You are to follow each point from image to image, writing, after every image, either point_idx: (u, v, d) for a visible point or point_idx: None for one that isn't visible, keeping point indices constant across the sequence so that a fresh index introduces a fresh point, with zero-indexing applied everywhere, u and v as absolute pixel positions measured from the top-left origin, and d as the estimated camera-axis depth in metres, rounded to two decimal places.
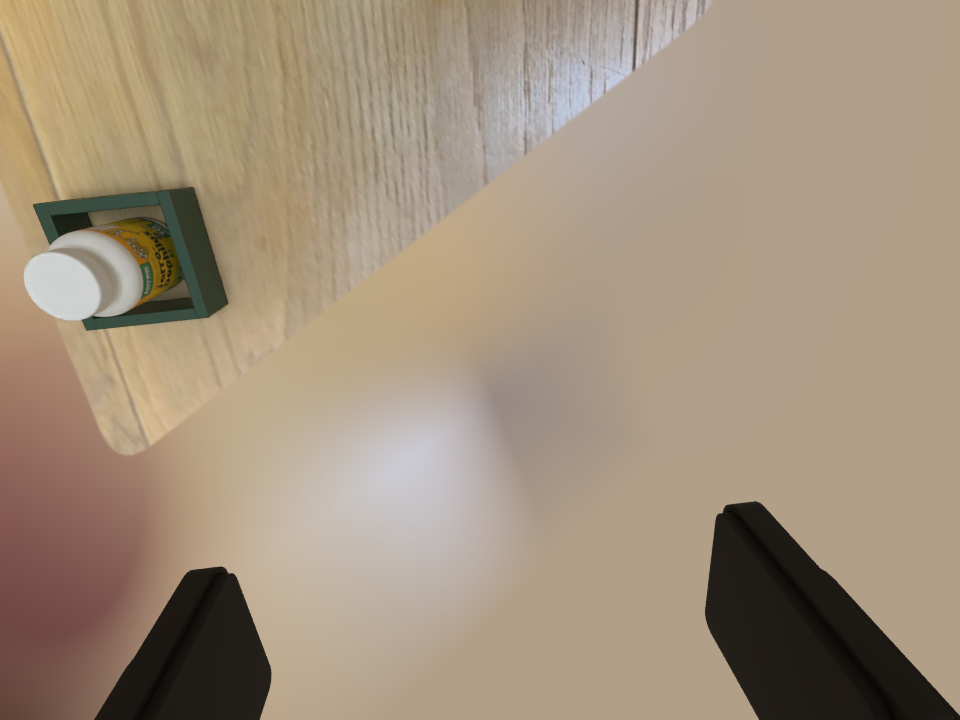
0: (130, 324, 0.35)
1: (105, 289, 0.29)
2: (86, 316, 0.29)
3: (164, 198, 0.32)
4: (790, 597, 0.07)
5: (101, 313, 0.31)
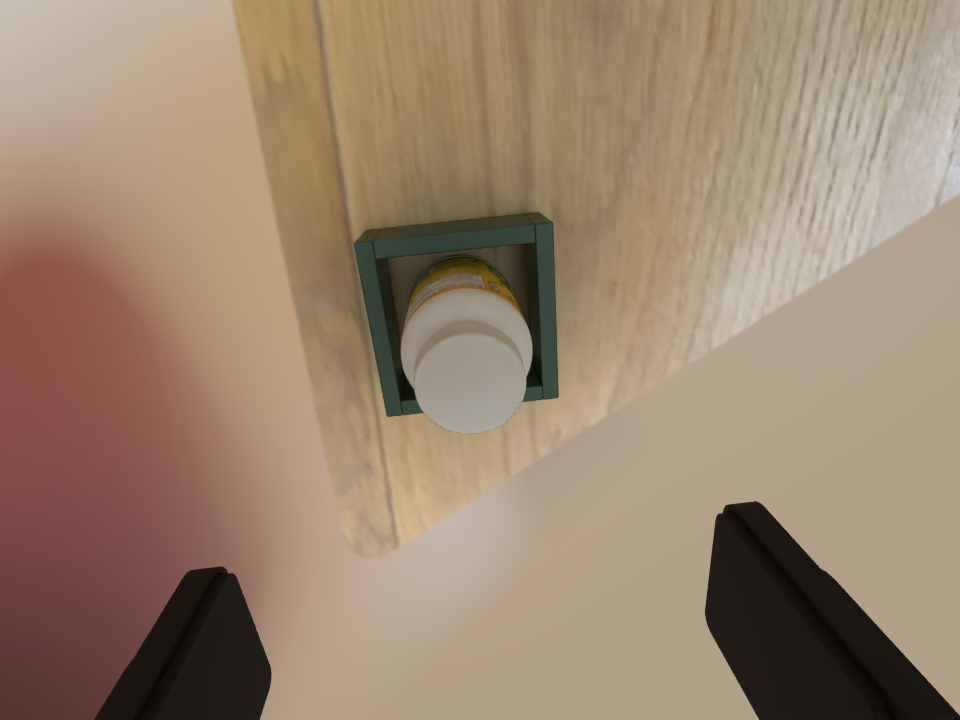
0: None
1: None
2: (492, 427, 0.18)
3: (544, 233, 0.22)
4: (790, 597, 0.07)
5: None
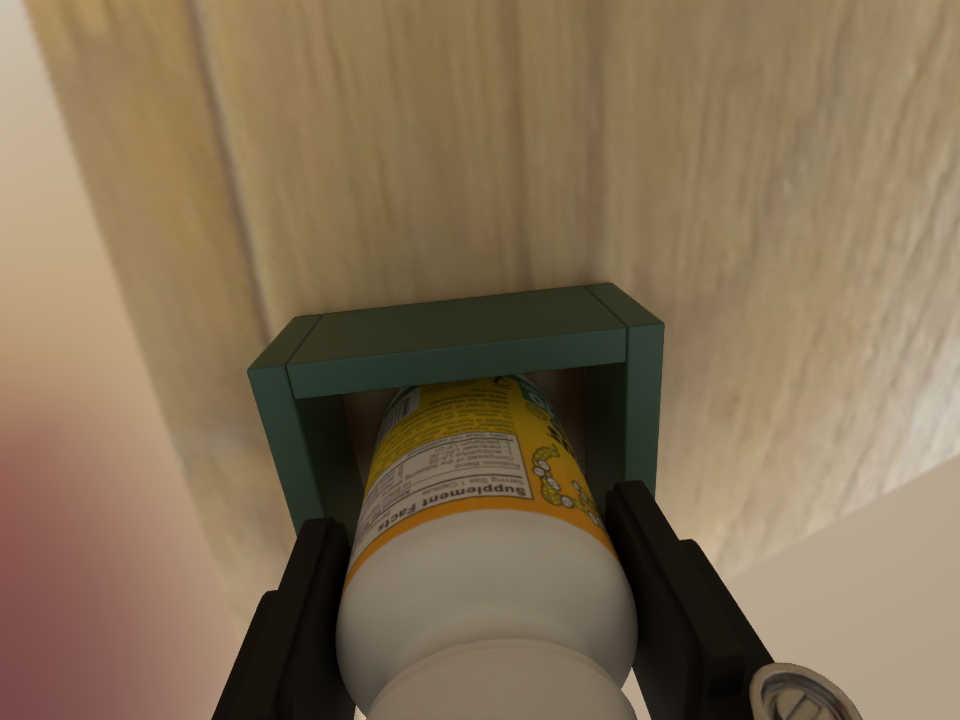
0: None
1: None
2: None
3: (645, 345, 0.10)
4: (645, 560, 0.08)
5: None
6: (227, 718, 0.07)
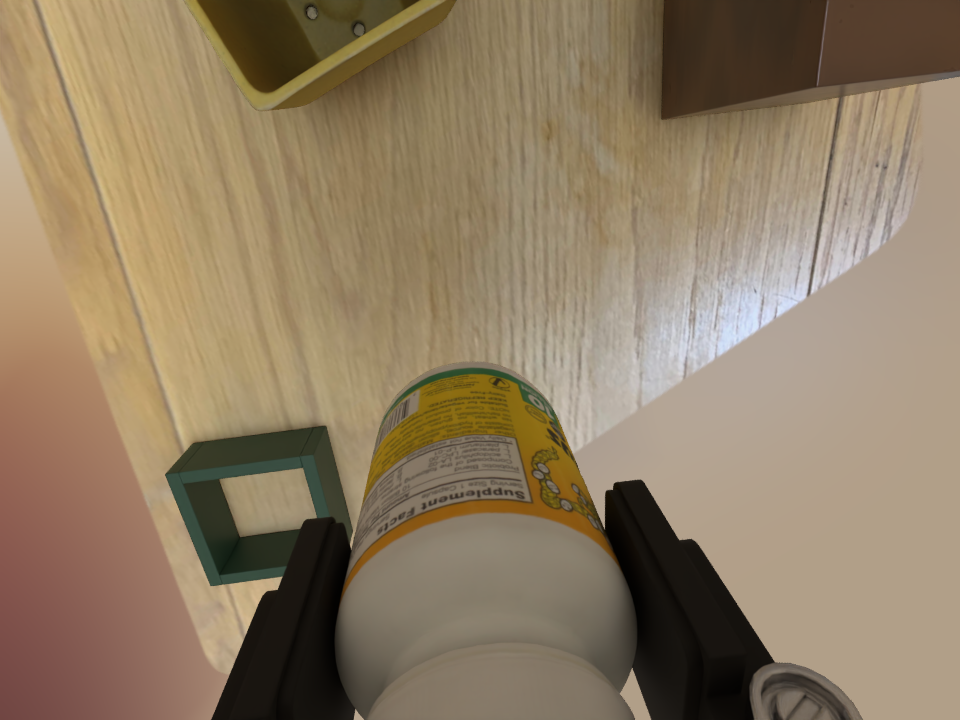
0: (259, 578, 0.32)
1: None
2: None
3: (308, 462, 0.29)
4: (645, 560, 0.08)
5: None
6: (227, 718, 0.07)
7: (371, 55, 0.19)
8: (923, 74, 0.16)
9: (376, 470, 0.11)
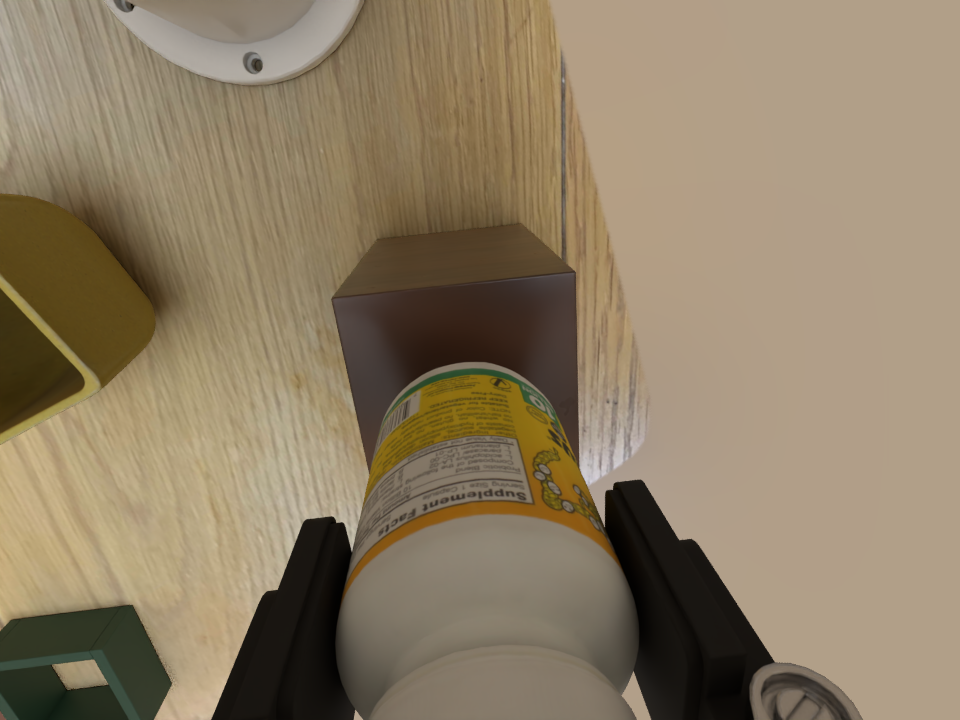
0: None
1: None
2: None
3: (97, 655, 0.33)
4: (645, 560, 0.08)
5: None
6: (227, 718, 0.07)
7: None
8: None
9: (377, 471, 0.11)
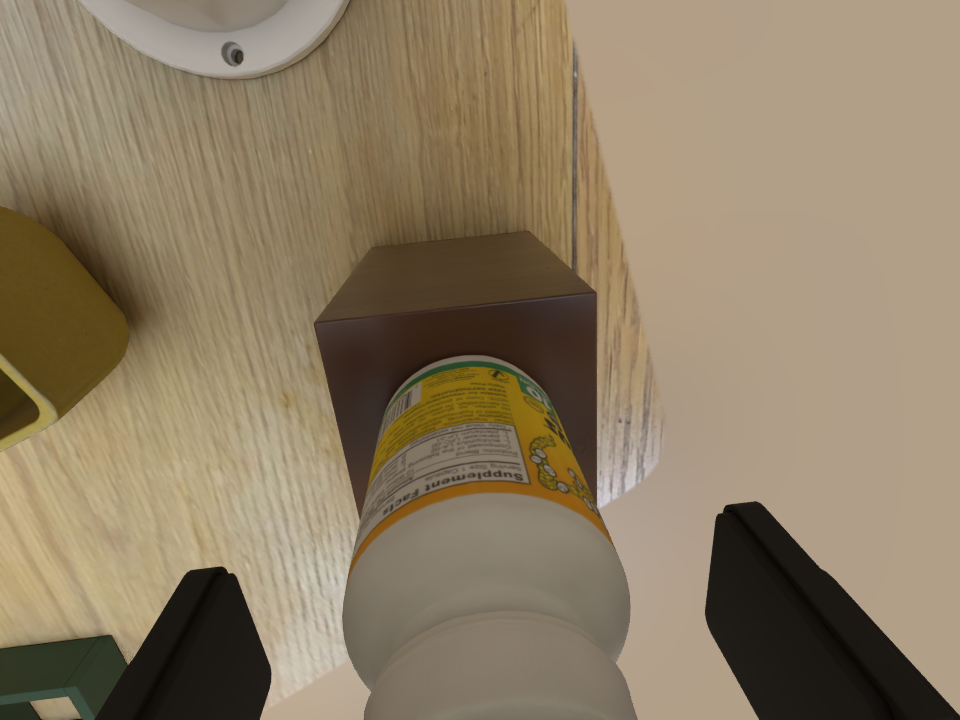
0: None
1: None
2: None
3: (72, 692, 0.30)
4: (790, 597, 0.07)
5: None
6: None
7: None
8: None
9: (380, 458, 0.11)
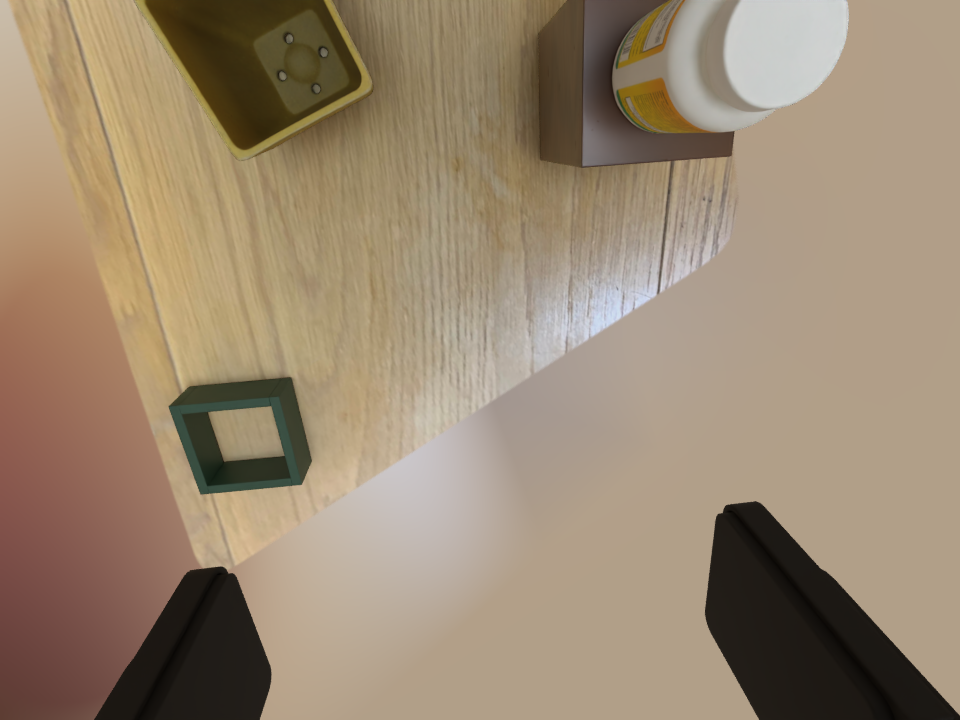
0: (237, 490, 0.42)
1: None
2: (795, 100, 0.16)
3: (275, 401, 0.39)
4: (790, 597, 0.07)
5: (739, 119, 0.18)
6: None
7: (315, 123, 0.29)
8: (648, 162, 0.26)
9: (653, 18, 0.20)
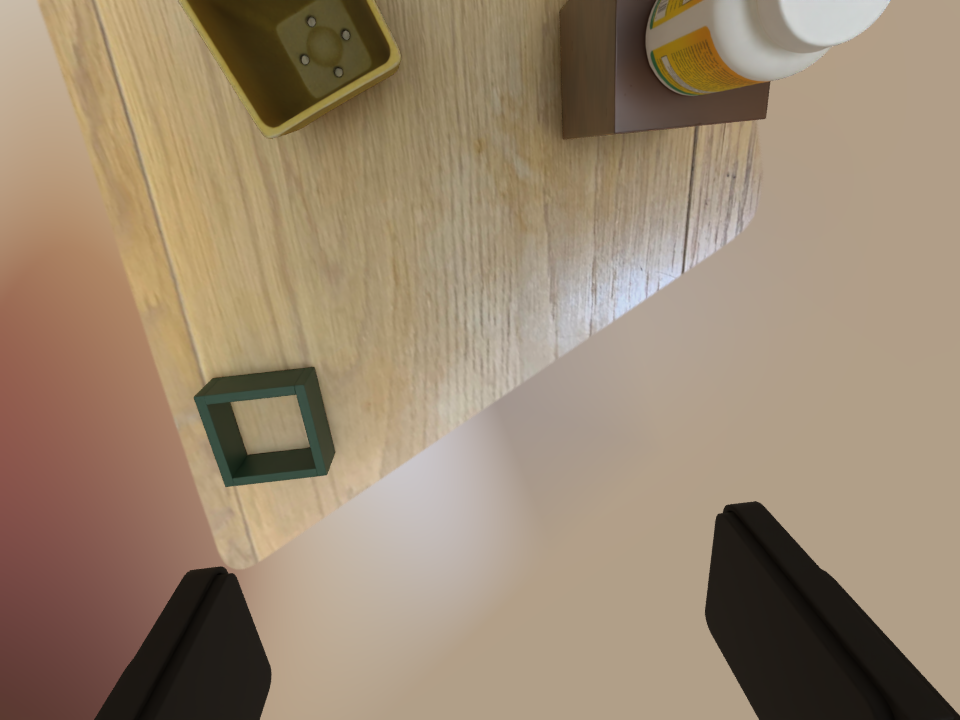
0: (262, 481, 0.42)
1: None
2: (851, 36, 0.16)
3: (300, 390, 0.39)
4: (790, 597, 0.07)
5: (787, 64, 0.18)
6: None
7: (342, 100, 0.29)
8: (682, 126, 0.26)
9: None
